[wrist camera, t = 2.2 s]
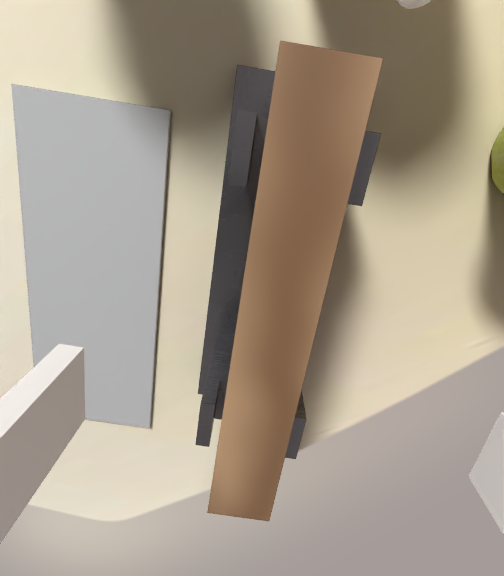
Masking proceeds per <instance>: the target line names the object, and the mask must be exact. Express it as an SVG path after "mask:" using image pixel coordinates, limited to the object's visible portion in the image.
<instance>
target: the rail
mask: <svg viewBox="0 0 504 576" xmlns="http://www.w3.org/2000/svg"><path fill="white" fill-rule="evenodd" d="M382 61H383V58H378V57H372V56H366V55H360V54H355V53H349V52H343V51H337V50H332V49H326V48H320V47H314V46H309V45H303V44H297V43H291V42H285V41H280V46H279V52H278V59H277V65H276V72H275V78H274V85H273V91H272V98H271V104H270V111H269V117H268V124H267V130H266V137H265V143H264V149H263V156H262V162H261V169H260V175H259V182H258V188H257V195H256V201H255V208H254V214H253V221H252V227H251V234H250V240H249V247H248V253H247V260H246V266H245V273H244V279H243V286H242V292H241V298H240V305H239V311H238V318H237V324H236V331H235V337H234V344H233V350H232V357H231V363H230V370H229V376H228V383H227V389H226V396H225V402H224V409H223V415H222V422H221V428H220V435H219V441H218V447H217V454H216V460H215V467H214V473H213V480H212V486H211V493H210V499H209V506H208V513H213V514H220V515H228V516H234V517H242V518H250V519H257V520H264V521H269V520H270V516H271V512H272V508H273V504H274V499H275V495H276V491H277V487H278V483H279V479H280V475H281V471H282V467H283V463H284V459H285V455H286V451H287V447H288V443H289V439H290V434H291V430H292V426H293V422H294V418H295V414H296V410H297V406H298V402H299V398H300V394H301V390H302V386H303V382H304V378H305V373H306V369H307V365H308V361H309V357H310V353H311V349H312V345H313V341H314V337H315V333H316V329H317V325H318V321H319V317H320V313H321V308H322V304H323V300H324V296H325V292H326V288H327V284H328V280H329V276H330V272H331V268H332V264H333V260H334V256H335V252H336V247H337V243H338V239H339V235H340V231H341V227H342V223H343V219H344V215H345V211H346V207H347V203H348V199H349V195H350V191H351V187H352V182H353V178H354V174H355V170H356V166H357V162H358V158H359V154H360V150H361V146H362V142H363V138H364V134H365V130H366V126H367V121H368V117H369V113H370V109H371V105H372V101H373V97H374V93H375V89H376V85H377V81H378V77H379V73H380V69H381V65H382Z"/></svg>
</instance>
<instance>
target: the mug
mask: <svg viewBox="0 0 504 576" xmlns="http://www.w3.org/2000/svg"><path fill="white" fill-rule="evenodd" d="M430 1H431V0H397V2H398V3H399V4H400V5H401V6H403V7H405V8H409V9H413V8H418V7H421V6H423V5H425V4H427V3H428V2H430Z"/></svg>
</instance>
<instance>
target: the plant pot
mask: <svg viewBox="0 0 504 576" xmlns="http://www.w3.org/2000/svg"><path fill="white" fill-rule="evenodd" d="M491 161H492V179H493V182H494V184H495V185H496V187H497V188H498V189H499V191H500V192H502V193H503V194H504V128H503V129H502V131H501V132H500V134H499V136H498V137H497V139H496V141H495V143H494V146H493V148H492V152H491Z"/></svg>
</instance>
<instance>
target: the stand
mask: <svg viewBox="0 0 504 576" xmlns="http://www.w3.org/2000/svg"><path fill="white" fill-rule="evenodd" d="M274 78H275V71H270V70H264V69H258V68H252V67H246V66H240V65H237V72H236V81H235V89H234V97H233V106H232V114H231V122H230V131H229V139H228V147H227V156H226V164H225V172H224V181H223V189H222V197H221V206H220V214H219V222H218V230H217V239H216V247H215V255H214V264H213V272H212V280H211V289H210V297H209V305H208V314H207V322H206V330H205V339H204V347H203V355H202V364H201V372H200V380H199V389H198V394H203V397H202V401H201V406H200V414H199V422H198V430H197V438H196V445H201V446H208V447H209V444H210V439H211V433H212V428H213V422H214V418H215V419H222V415H223V409H224V402H225V396H226V389H227V383H228V376H229V370H230V363H231V357H232V350H233V344H234V337H235V331H236V324H237V318H238V311H239V305H240V298H241V292H242V286H243V279H244V273H245V266H246V260H247V253H248V247H249V240H250V234H251V227H252V221H253V214H254V208H255V201H256V195H257V188H258V182H259V175H260V169H261V162H262V156H263V149H264V143H265V137H266V130H267V124H268V117H269V111H270V104H271V98H272V91H273V85H274ZM380 135H381V133H375V132H369V131H365V134H364V138H363V142H362V146H361V150H360V154H359V158H358V162H357V166H356V170H355V174H354V178H353V182H352V187H351V191H350V195H349V199H348V203H347V204H352V205H358V206H362V204H363V200H364V196H365V192H366V188H367V185H368V181H369V177H370V173H371V169H372V165H373V162H374V158H375V154H376V150H377V146H378V142H379V139H380ZM305 422H306V414H305V408H304V402H303V395H302V390H301V394H300V398H299V402H298V406H297V410H296V414H295V418H294V422H293V426H292V430H291V434H290V439H289V443H288V447H287V451H286V455H285V458H292V459H296V456H297V453H298V449H299V445H300V441H301V437H302V433H303V430H304V426H305Z"/></svg>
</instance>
